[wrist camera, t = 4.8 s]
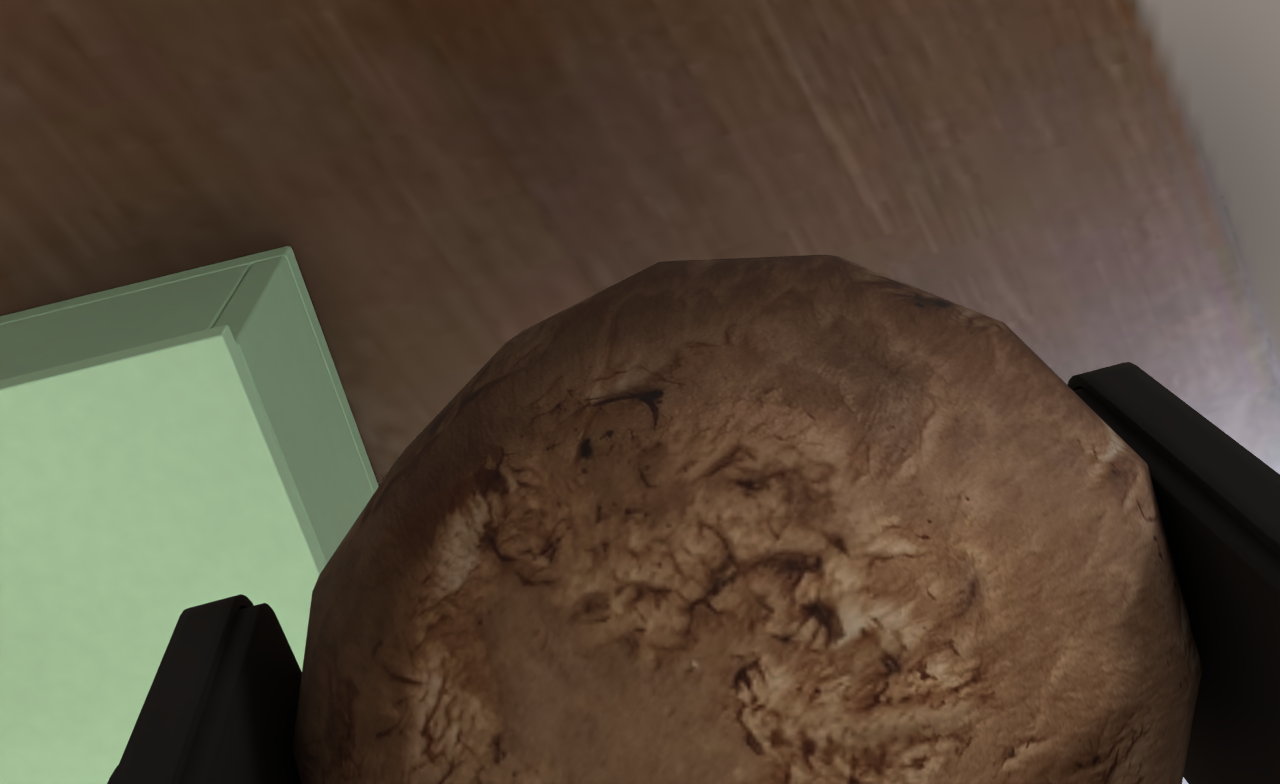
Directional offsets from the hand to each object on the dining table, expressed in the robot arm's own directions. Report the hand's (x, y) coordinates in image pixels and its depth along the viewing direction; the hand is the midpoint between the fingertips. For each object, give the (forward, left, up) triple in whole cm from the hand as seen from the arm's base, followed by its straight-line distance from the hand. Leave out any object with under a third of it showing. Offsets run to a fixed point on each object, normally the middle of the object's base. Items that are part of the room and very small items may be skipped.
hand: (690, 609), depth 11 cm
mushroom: (0, 0, -2) cm, 2 cm away
